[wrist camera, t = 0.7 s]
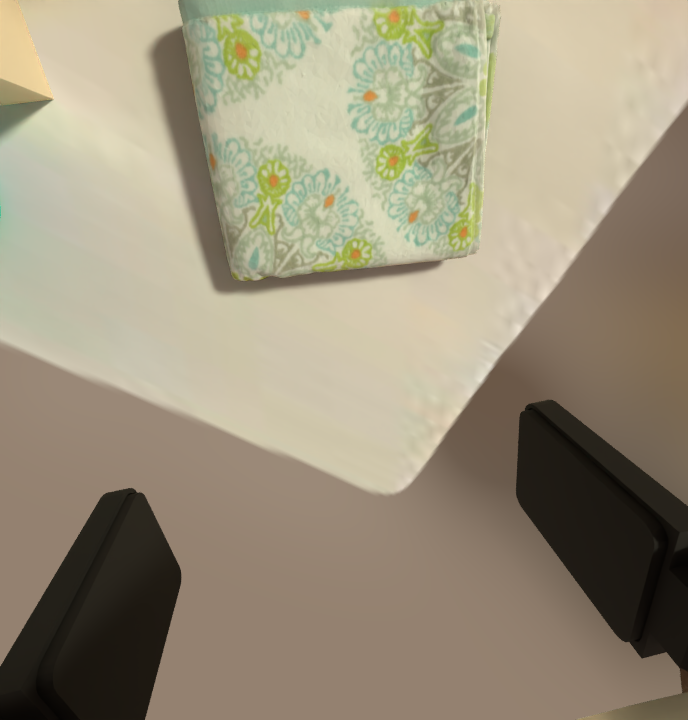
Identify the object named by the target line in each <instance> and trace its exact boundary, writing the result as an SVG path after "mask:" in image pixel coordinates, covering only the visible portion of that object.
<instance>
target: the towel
mask: <svg viewBox="0 0 688 720" xmlns="http://www.w3.org/2000/svg"><path fill="white" fill-rule="evenodd" d="M178 3H179V9H180V13H181V17H182V21H183V27H182V33H183V36H184V40H185V46H186V53H187V58H188V64H189V69H190V75H191V80H192V85H193V91H194V96H195V101H196V106H197V112H198V116H199V122H200V127H201V132H202V137H203V142H204V147H205V153H206V158H207V163H208V168H209V172H210V178H211V183H212V187H213V192H214V197H215V202H216V207H217V212H218V217H219V222H220V227H221V231H222V237H223V242H224V246H225V250H226V256H227V260H228V264H229V267H230V271H231V275H232V277H233V279H235V280H239V281H249V280H252V281H256V280H262V279H265V278H266V277H269V276H275V277H278V278H286V277H292V276H296V275H305V274H311V273H314V272H334V271H341V270H352V269H362V268H375V267H384V266H392V265H402V264H412V263H419V262H429V261H440V260H447V259H454V258H463V257H466V256H467V255H472V254H476V253H477V252H476V251H477V250H478V249H479V244H480V239H481V228H482V208H483V192H484V163H485V153H486V144H487V135H488V128H489V119H490V110H491V102H492V93H493V84H494V74H495V65H496V58H497V45H498V37H499V25H500V19H501V17H500V5H498V4H494V3H490V2H489V1H488V0H179V1H178Z"/></svg>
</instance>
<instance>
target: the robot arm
mask: <svg viewBox="0 0 688 720" xmlns="http://www.w3.org/2000/svg"><path fill="white" fill-rule="evenodd" d="M516 495H517V498H518V501H519V503H520V505H521V507H522V508H523V510H524V511H525V512H526V514H527V515H528V517H529V518H530V519H531V520H532V522H533V523H534V524H535V526H536V527H537V529H538V530H539V531H540V533H541V534H542V535H543V537H544V538H545V539H546V541H547V542H548V543H549V545H550V546H551V548H552V549H553V550H554V552H555V553H556V554H557V556H558V557H559V558H560V560H561V561H562V562H563V564H564V565H565V566H566V568H567V569H568V571H569V572H570V573H571V575H572V576H573V577H574V579H575V580H576V581H577V583H578V584H579V585H580V587H581V588H582V589H583V591H584V592H585V593H586V595H587V596H588V598H589V599H590V600H591V602H592V603H593V604H594V606H595V607H596V608H597V610H598V611H599V612H600V614H601V615H602V616H603V618H604V619H605V621H606V622H607V623H608V625H609V626H610V627H611V629H612V630H613V631H614V633H615V634H616V635H617V636H618V637H619V638H620V639H621V640H622V641H624V642H630V644H631V645H632V646H633V647H634V649H635V650H636V651H637V653H638V654H639V655H640V657H641V658H645V657H649V656H653V655H657V654H661V653H665V652H667V653H668V654H669V656H670V657H671V658H672V659H673V661H674V662H675V663H676V664H677V665H678V666H679V669H680V678H681V688H682V693H681V694H678V695H673V696H669V697H664V698H660V699H656V700H652V701H647V702H643V703H639V704H635V705H631V706H627V707H623V708H619V709H615V710H612V711H608V712H604V713H600V714H596V715H592V716H589V717H584V718H581V719H577V720H688V506H687V505H686V504H684V503H683V502H682V501H680V500H679V499H678V498H677V497H675V496H674V495H673V494H672V493H670V492H669V491H668V490H667V489H665V488H664V487H663V486H661V485H660V484H659V483H658V482H656V481H655V480H654V479H653V478H651V477H650V476H649V475H648V474H646V473H645V472H644V471H642V470H641V469H640V468H639V467H637V466H636V465H635V464H634V463H632V462H631V461H630V460H628V459H627V458H626V457H625V456H624V455H622V454H621V453H620V452H619V451H617V450H616V449H615V448H613V447H612V446H611V445H610V444H608V443H607V442H606V441H605V440H603V439H602V438H601V437H600V436H598V435H597V434H596V433H595V432H593V431H592V430H591V429H589V428H588V427H587V426H586V425H584V424H583V423H582V422H581V421H579V420H578V419H577V418H576V417H574V416H573V415H571V414H570V413H569V412H568V411H567V410H565V409H564V408H563V407H562V406H560V405H559V404H558V403H556V402H555V401H553V400H546V401H541V402H536V403H531V404H528V405H527V406H526V408H525V411H523V412H521V414H520V420H519V441H518V461H517V483H516ZM180 585H181V570H180V567H179V565H178V563H177V561H176V558H175V557H174V555H173V552H172V550H171V548H170V546H169V544H168V542H167V540H166V538H165V536H164V534H163V532H162V530H161V528H160V526H159V524H158V522H157V520H156V518H155V516H154V513H153V511H152V510H151V507H150V505H149V504H148V501H147V499H146V497H145V495H144V494H143V493H137V492H136V490H134V489H133V488H128V489H123V490H119V491H114V492H109V493H106V494H104V495H103V496H102V497H101V498H100V500H99V502H98V504H97V505H96V507H95V509H94V510H93V512H92V514H91V515H90V517H89V519H88V520H87V522H86V524H85V526H84V527H83V529H82V530H81V532H80V534H79V535H78V537H77V539H76V540H75V542H74V544H73V546H72V547H71V549H70V551H69V552H68V554H67V556H66V557H65V559H64V561H63V562H62V564H61V566H60V567H59V569H58V571H57V572H56V574H55V576H54V577H53V579H52V581H51V582H50V584H49V586H48V588H47V589H46V591H45V592H44V594H43V596H42V598H41V599H40V601H39V602H38V604H37V606H36V608H35V609H34V611H33V613H32V614H31V616H30V618H29V619H28V621H27V623H26V624H25V626H24V628H23V629H22V631H21V633H20V635H19V636H18V638H17V639H16V641H15V643H14V644H13V646H12V648H11V650H10V651H9V653H8V655H7V656H6V658H5V660H4V661H3V663H2V665H1V666H0V720H145V717H146V713H147V710H148V706H149V702H150V698H151V694H152V691H153V687H154V683H155V679H156V675H157V672H158V668H159V664H160V660H161V657H162V653H163V649H164V645H165V642H166V637H167V634H168V630H169V627H170V622H171V619H172V615H173V611H174V608H175V604H176V600H177V596H178V593H179V589H180Z"/></svg>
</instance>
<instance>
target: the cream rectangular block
mask: <svg viewBox="0 0 688 720" xmlns="http://www.w3.org/2000/svg"><path fill="white" fill-rule="evenodd" d="M52 99H54V98H53V95H52V93H51V90H50V87H49V84H48V82H47V79H46V76H45V74H44V71H43V68H42V66H41V63H40V60H39V57H38V55H37V52H36V49H35V47H34V44H33V41H32V39H31V36H30V33H29V30H28V28H27V25H26V22H25V20H24V17H23V14H22V12H21V9H20V6H19V3H18V1H17V0H0V105H10V104H19V103H27V102H36V101H44V100H52Z"/></svg>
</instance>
